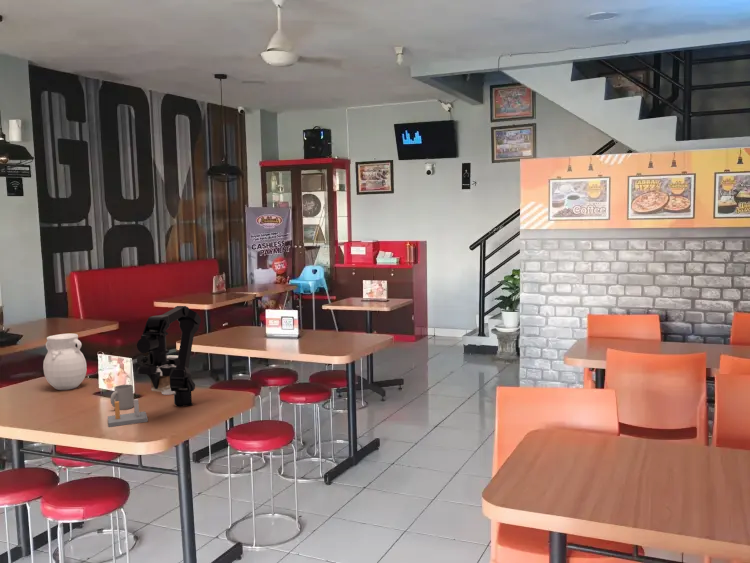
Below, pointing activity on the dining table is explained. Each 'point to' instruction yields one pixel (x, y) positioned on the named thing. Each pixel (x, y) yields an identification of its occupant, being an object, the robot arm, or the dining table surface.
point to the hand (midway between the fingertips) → (160, 387)
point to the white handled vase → (64, 361)
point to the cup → (123, 397)
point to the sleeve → (162, 384)
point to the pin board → (127, 416)
